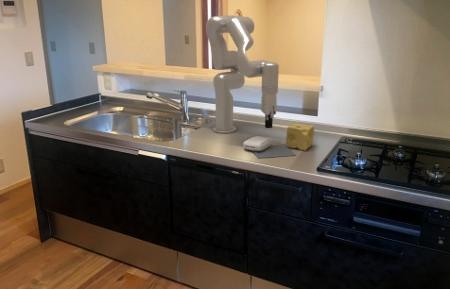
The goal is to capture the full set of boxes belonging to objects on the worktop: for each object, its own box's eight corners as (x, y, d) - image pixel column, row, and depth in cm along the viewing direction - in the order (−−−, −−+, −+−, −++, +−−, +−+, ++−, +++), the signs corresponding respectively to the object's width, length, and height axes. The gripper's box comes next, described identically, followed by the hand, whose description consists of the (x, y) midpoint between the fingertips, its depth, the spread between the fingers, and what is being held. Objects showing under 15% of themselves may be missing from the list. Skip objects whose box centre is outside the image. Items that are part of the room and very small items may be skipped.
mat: (249, 147, 195) (249, 146, 194) (284, 144, 198) (284, 143, 198) (258, 158, 180) (258, 158, 180) (296, 155, 183) (296, 155, 183)
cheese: (305, 151, 189) (307, 130, 185) (284, 146, 194) (285, 126, 191) (313, 145, 197) (315, 125, 194) (292, 141, 202) (294, 122, 199)
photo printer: (272, 137, 193) (259, 144, 183) (273, 146, 194) (259, 153, 184) (254, 135, 199) (240, 141, 189) (254, 143, 200) (241, 150, 190)
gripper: (257, 87, 192) (256, 123, 198) (266, 93, 178) (265, 132, 184) (272, 86, 193) (271, 123, 199) (282, 92, 180) (281, 131, 186)
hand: (268, 127), depth 192 cm, fingers closed
